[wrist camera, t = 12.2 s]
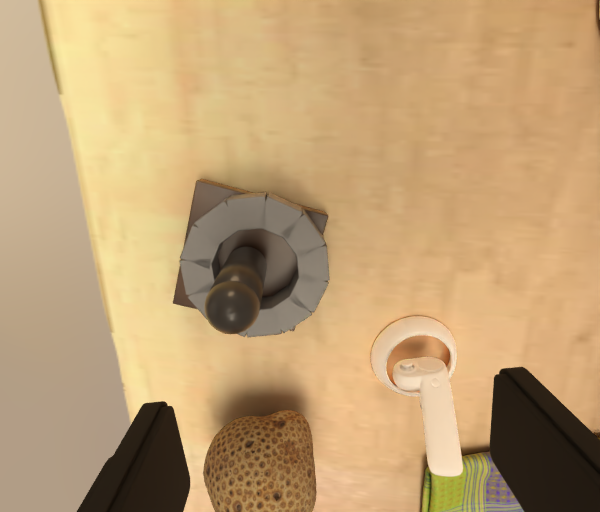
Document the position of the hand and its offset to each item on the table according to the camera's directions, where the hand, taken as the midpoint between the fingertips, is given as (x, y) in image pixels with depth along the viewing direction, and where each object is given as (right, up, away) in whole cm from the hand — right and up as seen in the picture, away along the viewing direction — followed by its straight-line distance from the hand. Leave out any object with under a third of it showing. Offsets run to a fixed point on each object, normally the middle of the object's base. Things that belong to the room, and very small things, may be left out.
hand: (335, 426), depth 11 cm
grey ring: (-4, +5, +18) cm, 19 cm away
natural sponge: (-4, -11, +24) cm, 27 cm away
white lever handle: (+9, -4, +22) cm, 25 cm away
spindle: (-5, +5, +19) cm, 20 cm away
